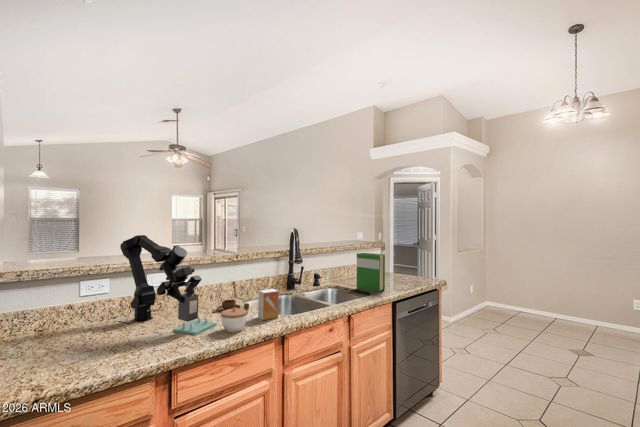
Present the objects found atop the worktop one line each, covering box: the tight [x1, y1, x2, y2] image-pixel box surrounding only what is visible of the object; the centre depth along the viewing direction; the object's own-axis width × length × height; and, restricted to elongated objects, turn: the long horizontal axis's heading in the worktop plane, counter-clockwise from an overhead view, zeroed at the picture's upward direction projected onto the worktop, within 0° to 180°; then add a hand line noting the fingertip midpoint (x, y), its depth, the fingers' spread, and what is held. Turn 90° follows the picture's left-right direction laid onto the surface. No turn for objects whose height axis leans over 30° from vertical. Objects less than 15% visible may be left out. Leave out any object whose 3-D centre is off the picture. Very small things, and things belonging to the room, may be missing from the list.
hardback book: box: [356, 252, 386, 293], centre depth 220 cm, size 18×7×24 cm, turn 50°
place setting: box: [211, 299, 250, 316], centre depth 166 cm, size 18×20×6 cm
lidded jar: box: [220, 307, 248, 333], centre depth 139 cm, size 11×11×9 cm
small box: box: [257, 288, 280, 321], centre depth 157 cm, size 8×6×13 cm
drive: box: [177, 292, 199, 323], centre depth 136 cm, size 6×5×10 cm
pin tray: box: [172, 315, 217, 336], centre depth 141 cm, size 12×13×4 cm
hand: (189, 300), depth 136 cm, fingers closed on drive, 5 cm apart
